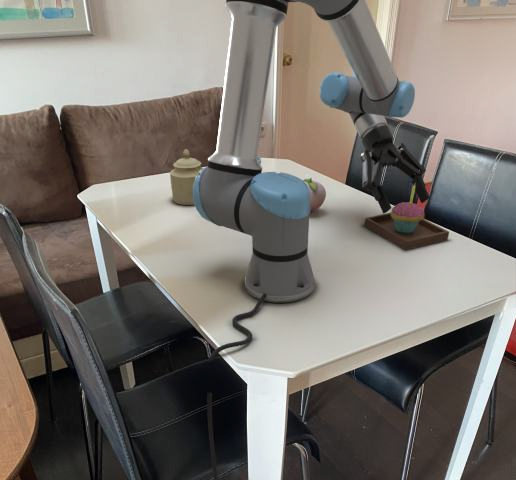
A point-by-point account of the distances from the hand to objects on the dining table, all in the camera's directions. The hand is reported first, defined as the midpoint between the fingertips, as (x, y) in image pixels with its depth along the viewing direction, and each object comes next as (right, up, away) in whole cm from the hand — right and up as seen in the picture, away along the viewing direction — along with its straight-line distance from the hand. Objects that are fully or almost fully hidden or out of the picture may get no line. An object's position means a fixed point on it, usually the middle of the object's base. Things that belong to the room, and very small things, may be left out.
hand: (407, 205), depth 130 cm
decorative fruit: (-23, +3, +17) cm, 29 cm away
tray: (0, -6, +4) cm, 7 cm away
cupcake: (0, -6, +3) cm, 7 cm away
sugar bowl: (-58, +16, +23) cm, 64 cm away
